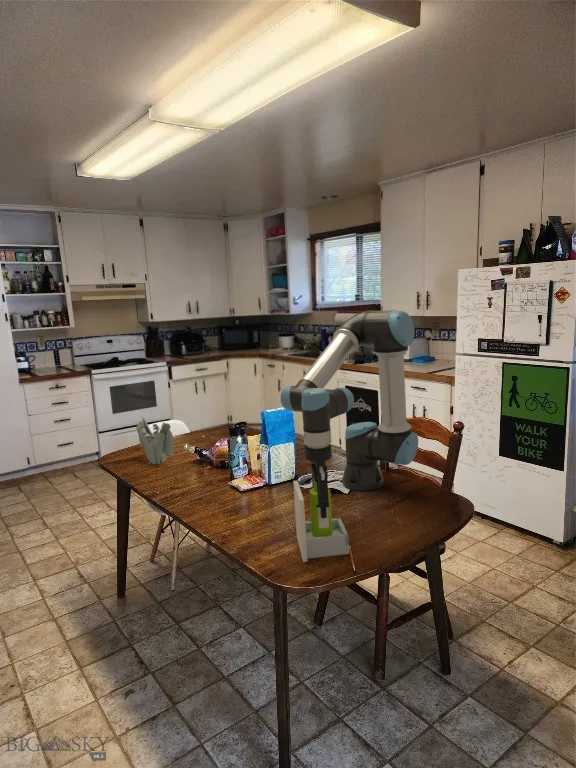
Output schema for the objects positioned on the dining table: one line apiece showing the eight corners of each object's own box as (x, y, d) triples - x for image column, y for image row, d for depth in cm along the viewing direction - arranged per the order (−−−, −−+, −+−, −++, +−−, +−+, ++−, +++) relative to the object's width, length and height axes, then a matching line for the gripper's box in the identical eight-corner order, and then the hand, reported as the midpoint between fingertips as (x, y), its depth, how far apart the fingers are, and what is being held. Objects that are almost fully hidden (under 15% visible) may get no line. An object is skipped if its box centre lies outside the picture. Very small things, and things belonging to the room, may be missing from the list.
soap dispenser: (330, 526, 144) (327, 461, 141) (333, 537, 138) (330, 470, 134) (311, 527, 144) (307, 463, 141) (312, 539, 137) (308, 471, 134)
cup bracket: (339, 532, 148) (337, 476, 145) (350, 556, 135) (348, 495, 132) (296, 537, 147) (293, 480, 144) (303, 562, 134) (299, 500, 130)
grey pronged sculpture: (134, 458, 232) (129, 417, 228) (147, 454, 237) (142, 414, 233) (168, 469, 214) (163, 425, 210) (181, 464, 219) (177, 421, 215)
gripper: (299, 436, 144) (304, 509, 149) (309, 456, 126) (313, 539, 130) (324, 433, 145) (328, 506, 149) (337, 453, 127) (341, 536, 131)
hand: (321, 521), depth 140 cm, fingers closed on soap dispenser, 6 cm apart
